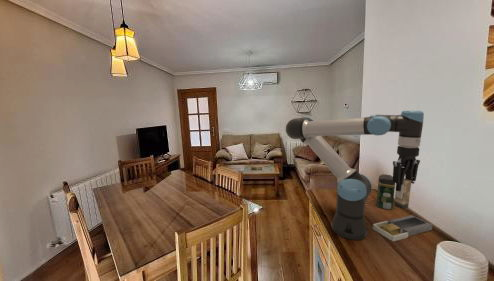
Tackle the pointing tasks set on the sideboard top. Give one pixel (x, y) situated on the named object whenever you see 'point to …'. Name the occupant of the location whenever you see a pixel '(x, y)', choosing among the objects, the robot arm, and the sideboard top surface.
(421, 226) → the grey shallow tray
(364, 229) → the robot arm
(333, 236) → the sideboard top surface
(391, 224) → the olive small block
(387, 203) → the coffee jar
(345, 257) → the sideboard top surface
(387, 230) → the chip
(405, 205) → the beige tall block
